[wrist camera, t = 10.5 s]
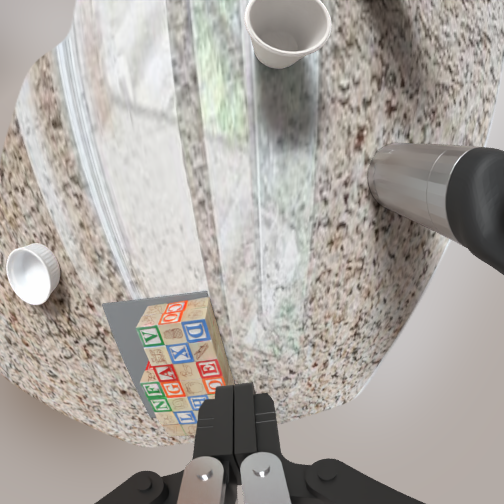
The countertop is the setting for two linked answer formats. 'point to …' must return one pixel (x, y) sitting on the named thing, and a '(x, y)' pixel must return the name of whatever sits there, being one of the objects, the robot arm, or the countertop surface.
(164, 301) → the mat
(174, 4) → the countertop surface
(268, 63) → the dixie cup
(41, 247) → the ramekin
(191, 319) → the stack of blocks
